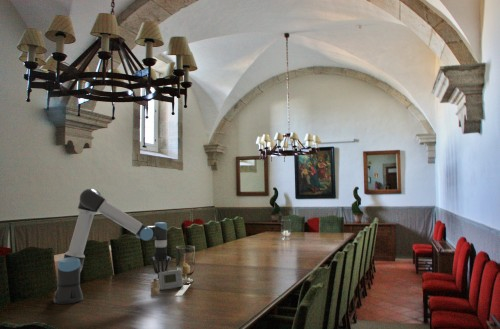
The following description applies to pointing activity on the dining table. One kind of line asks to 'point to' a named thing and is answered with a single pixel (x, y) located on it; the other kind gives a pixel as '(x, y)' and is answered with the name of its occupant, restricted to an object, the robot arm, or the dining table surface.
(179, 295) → the lath
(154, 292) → the tan wooden block
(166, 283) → the digital clock
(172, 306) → the dining table surface
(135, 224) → the robot arm
